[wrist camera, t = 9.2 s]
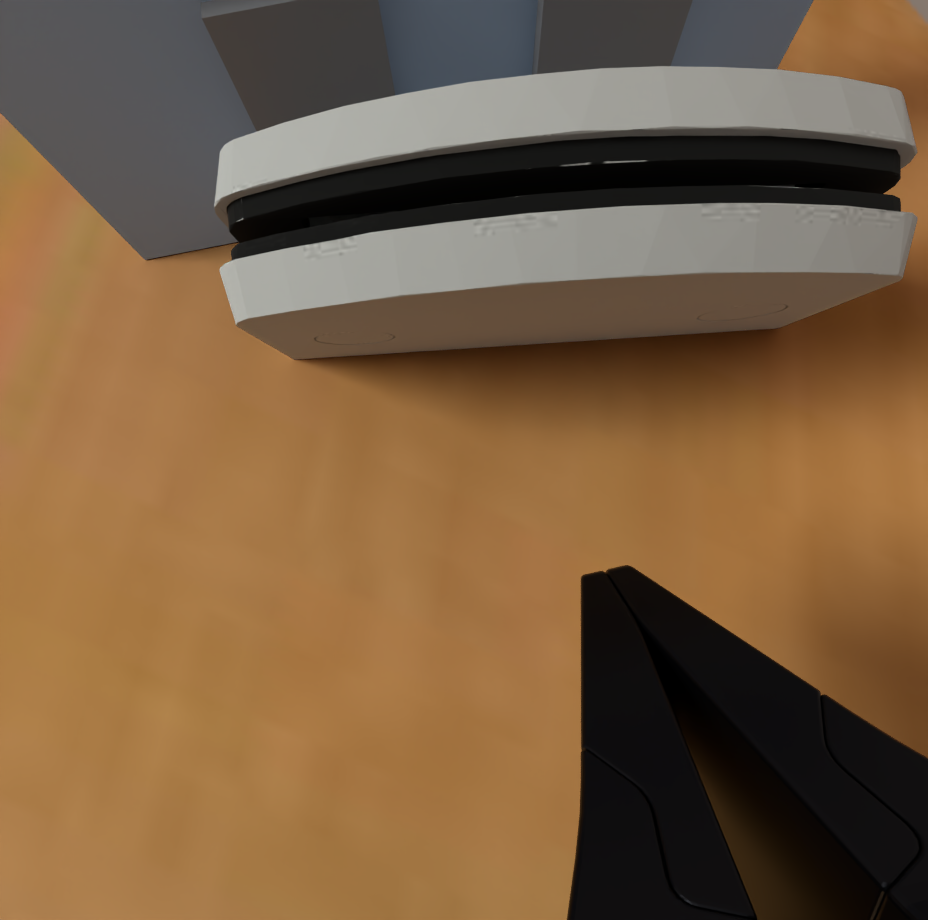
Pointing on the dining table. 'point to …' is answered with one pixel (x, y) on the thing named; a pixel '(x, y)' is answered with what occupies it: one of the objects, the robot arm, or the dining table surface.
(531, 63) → the cabinet side panel
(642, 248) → the white black-striped curved device
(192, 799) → the dining table surface
